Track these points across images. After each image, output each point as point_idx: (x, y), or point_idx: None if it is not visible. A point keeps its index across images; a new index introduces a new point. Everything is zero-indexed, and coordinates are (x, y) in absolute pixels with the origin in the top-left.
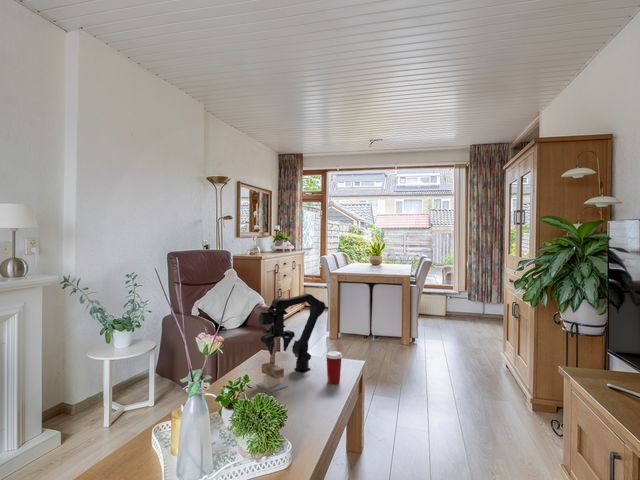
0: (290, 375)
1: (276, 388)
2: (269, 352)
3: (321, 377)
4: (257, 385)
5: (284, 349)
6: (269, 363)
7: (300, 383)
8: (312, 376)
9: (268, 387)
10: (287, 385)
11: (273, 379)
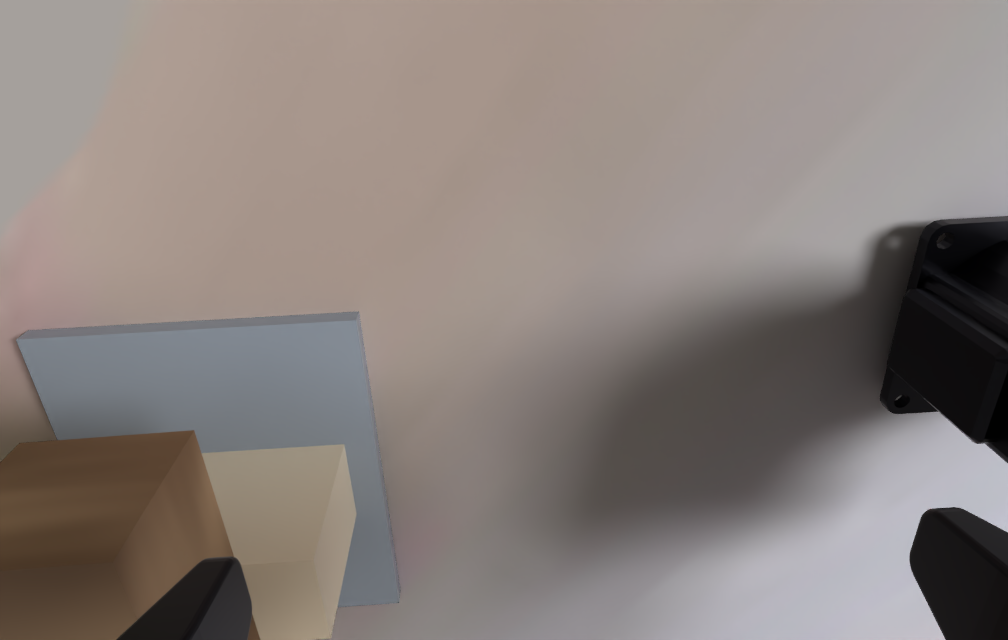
0: (695, 340)
1: None
2: (136, 631)
3: (900, 606)
4: (35, 357)
5: (959, 590)
6: (118, 618)
7: (584, 600)
8: (863, 534)
9: None
10: (395, 600)
11: None
